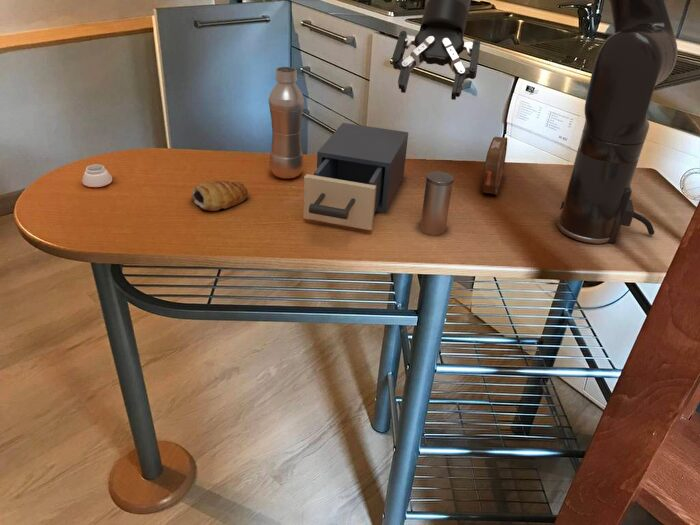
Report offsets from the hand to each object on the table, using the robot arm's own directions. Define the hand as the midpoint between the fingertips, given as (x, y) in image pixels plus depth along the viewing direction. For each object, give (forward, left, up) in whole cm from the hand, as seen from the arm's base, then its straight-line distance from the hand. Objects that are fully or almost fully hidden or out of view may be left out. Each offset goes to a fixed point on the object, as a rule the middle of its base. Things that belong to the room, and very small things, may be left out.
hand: (428, 93), depth 103 cm
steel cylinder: (-5, +11, -19) cm, 23 cm away
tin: (-13, -11, -19) cm, 26 cm away
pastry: (+32, +15, -19) cm, 40 cm away
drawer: (+10, +12, -18) cm, 24 cm away
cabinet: (+10, 0, -19) cm, 22 cm away
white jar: (+55, +16, -19) cm, 60 cm away
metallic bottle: (+25, 0, -19) cm, 32 cm away
